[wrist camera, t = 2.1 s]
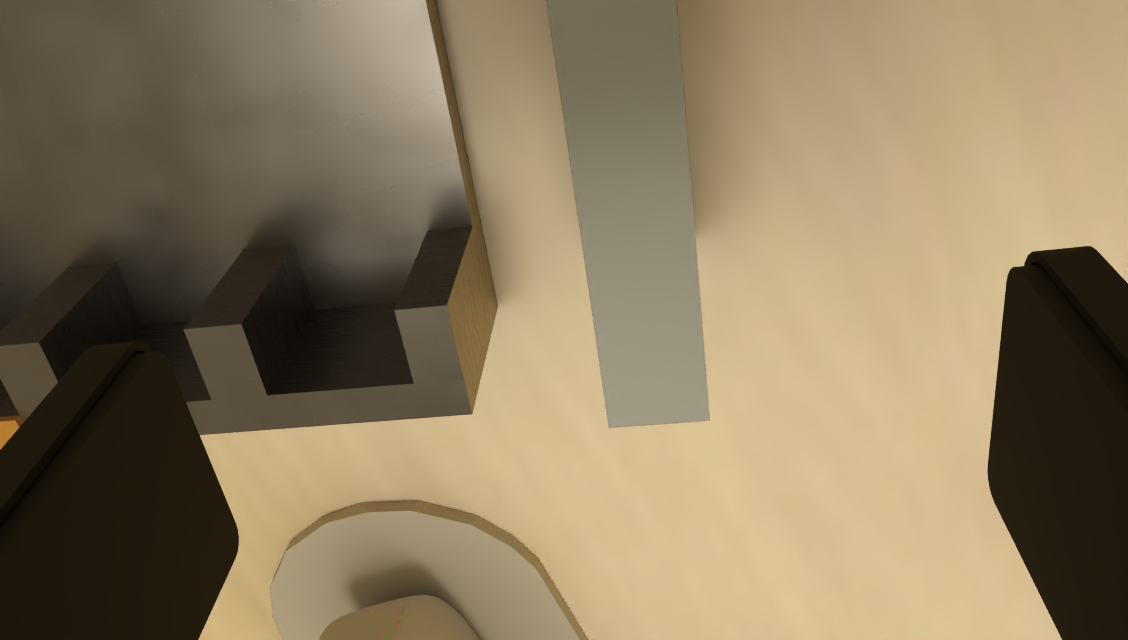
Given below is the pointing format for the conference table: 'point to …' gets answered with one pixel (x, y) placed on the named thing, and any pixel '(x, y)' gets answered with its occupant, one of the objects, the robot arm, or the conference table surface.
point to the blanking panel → (634, 203)
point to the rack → (241, 207)
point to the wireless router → (414, 579)
